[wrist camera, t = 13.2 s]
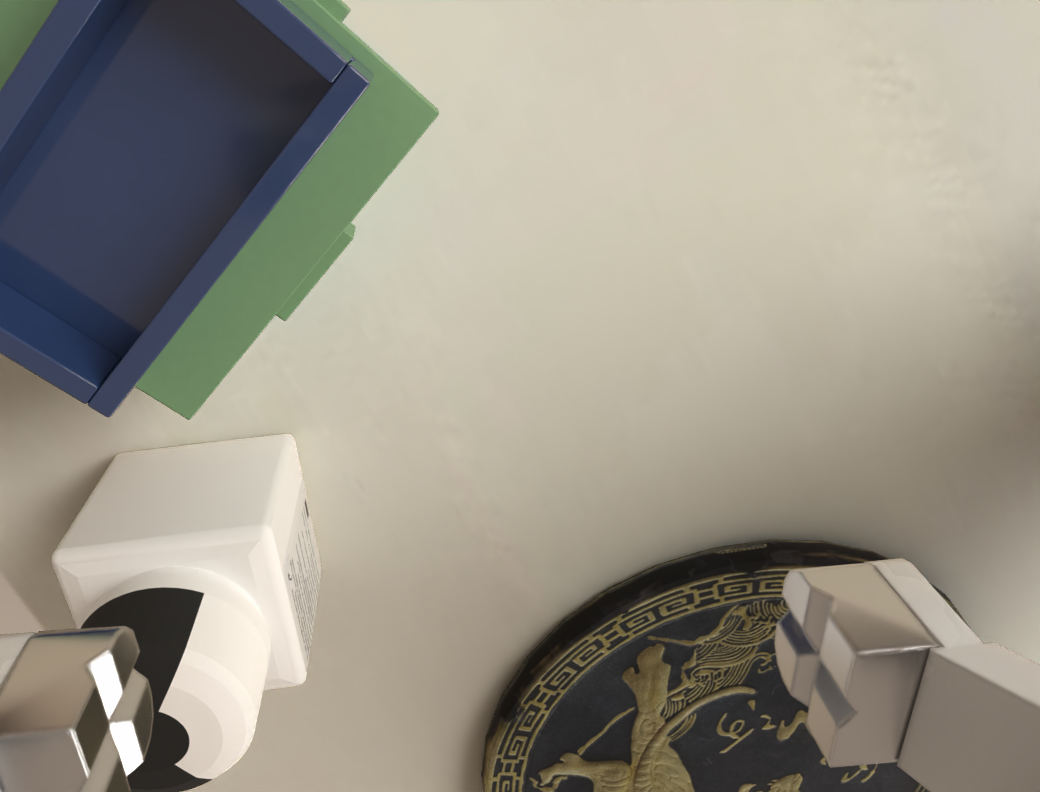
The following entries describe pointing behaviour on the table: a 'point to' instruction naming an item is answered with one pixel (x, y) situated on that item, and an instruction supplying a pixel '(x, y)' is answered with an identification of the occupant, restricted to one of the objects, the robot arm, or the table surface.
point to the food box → (273, 213)
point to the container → (199, 590)
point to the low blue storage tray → (148, 170)
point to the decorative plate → (674, 688)
